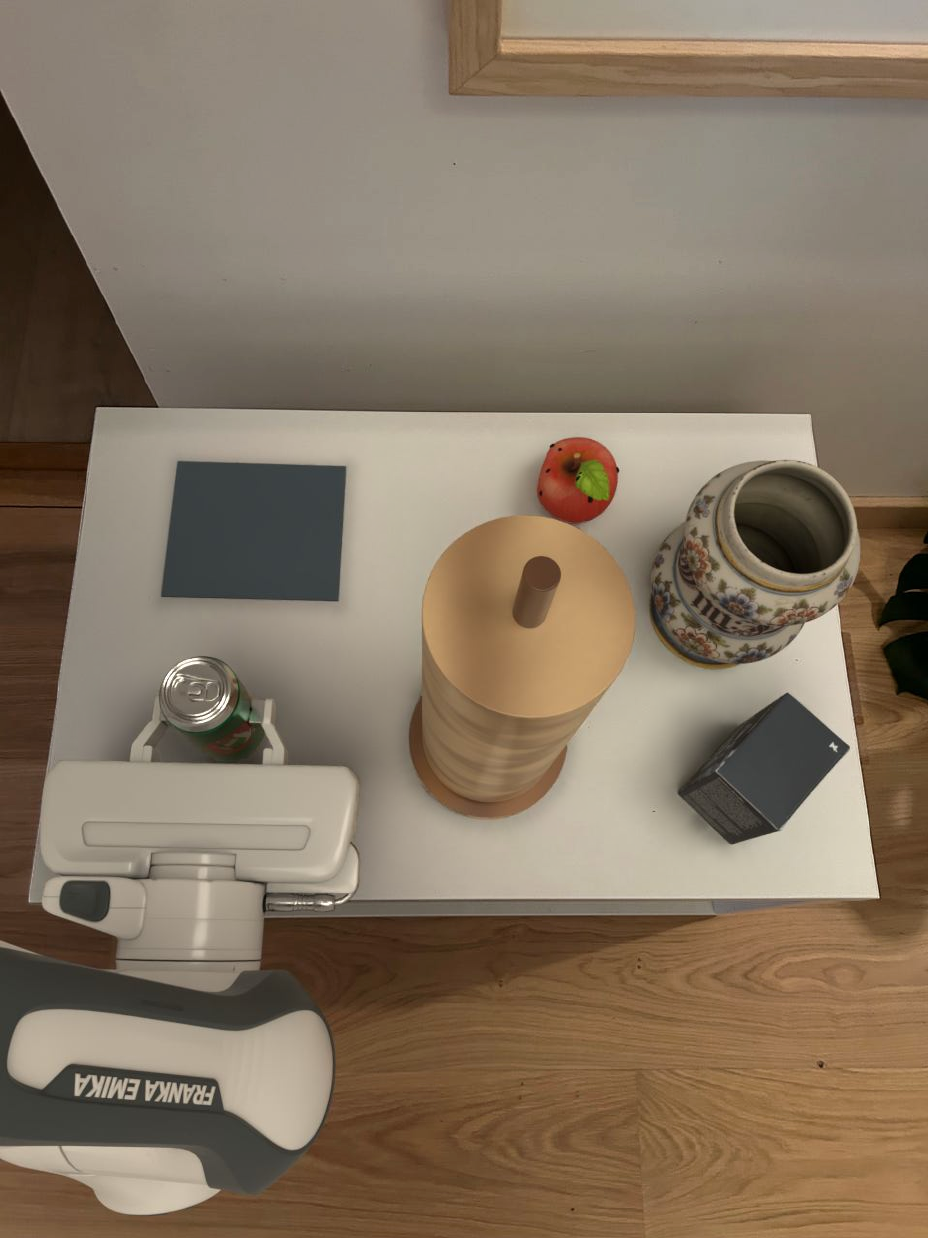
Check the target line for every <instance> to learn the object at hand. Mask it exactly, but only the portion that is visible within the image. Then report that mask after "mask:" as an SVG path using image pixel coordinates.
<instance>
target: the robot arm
mask: <svg viewBox="0 0 928 1238" xmlns="http://www.w3.org/2000/svg"><path fill="white" fill-rule="evenodd" d="M251 708H252V711H251V712H250V716H249V723H250V725H252V727H253V728H263V729H264V731H265V733H264V734H265V735H266V737H267V739H268V742H269V743H270V745H271V747H272V748H271V747H265V748H264V749H263V751H262V762H261V764H260V763H224V762H219V763H217V762H216V763H215V762H214V763H213V762H171V761H170V762H169V761H168V762H167V761H160V760H161V752H160V750H158V749H157V748H155V747H156V746H157V744H158V743H159V741H160V740H161V739H162V737H163V736H164V734H165V733H166V731H167V730H168V728H169V727H173V726H172V725H171V724H170V723H169V722H168V721H167V720H166V718H165V717H164V715H163V713H162V711H161V708H160V704H159V695H155V698H154V701H153V710H152V717H151V720H149V721H148V723H146V724H145V725H146V726H144V728H143V729H142V731H141V732H140V733H139V734H138V736H137V737H136V738H135V739H134V741H133V742H132V743H131V747H130V754H129V755H130V756H129V760H128V761H127V760H125V761H124V760H123V761H122V760H80V759H63V760H60V761H58V762H57V763H56V764H55V765H54V766H53V767H52V768H51V769H50V771H48V772H47V774H46V775H45V779H44V783H43V789H42V795H41V805H40V821H39V847H40V853H41V858H42V861H43V862H44V864H45V865H46V867H47V868H48V869H49V870H50V871H51V872H53V873H54V874H56V875H57V876H53V877H51V878H49V879H48V880H47V881H46V883H45V885H44V887H43V891H42V898H41V906H42V908H43V910H44V911H45V912H47V913H49V914H51V915H53V916H56V917H60V918H63V919H65V920H68V921H70V922H74V923H77V924H79V925H82V926H84V927H88V929H91V930H94V931H95V932H96V931H97V932H102V933H104V934H107V935H111V936H113V937H115V939H116V940H117V942H116V951H115V952H116V953H115V960H114V961H115V969H113V968H111V969H110V968H109V969H108V968H97V967H93V966H88V965H84V964H80V963H75V962H71V961H67V960H63V959H60V958H59V959H58V958H55V957H50V956H45V955H42V954H40V953H37V952H34V951H32V950H28V949H25V948H22V947H21V946H18V945H14V944H12V943H8V942H6V941H3V940H1V939H0V1161H1V1162H7V1163H10V1164H12V1165H15V1166H18V1167H21V1168H26V1169H31V1170H36V1171H39V1172H40V1171H41V1172H45V1173H51V1174H55V1175H59V1176H64V1177H66V1178H70V1179H73V1180H76V1181H78V1182H80V1183H82V1184H84V1185H85V1186H87V1187H89V1188H91V1189H92V1190H93V1193H94V1195H95V1196H96V1199H97V1200H98V1201H99V1202H100V1203H101V1204H102V1205H103V1206H104V1207H106V1208H107V1209H109V1210H111V1211H112V1212H114V1213H117V1214H120V1215H121V1214H122V1215H126V1216H134V1217H159V1216H165V1215H169V1214H172V1213H176V1212H180V1211H183V1210H189V1209H191V1208H192V1209H193V1208H194V1207H196V1206H198V1205H201V1204H203V1203H204V1202H206V1201H207V1200H209V1199H211V1198H212V1197H213V1196H215V1195H216V1194H218V1193H219V1192H221V1191H226V1192H230V1193H231V1192H232V1193H237V1194H244V1195H250V1196H257V1195H260V1194H261V1193H263V1192H264V1191H266V1189H268V1188H270V1186H272V1185H273V1184H274V1183H276V1182H278V1180H279V1179H280V1178H281V1177H283V1176H284V1175H285V1174H286V1173H288V1171H289V1170H290V1169H292V1167H294V1166H295V1165H296V1163H298V1161H299V1160H300V1159H301V1158H302V1157H303V1156H304V1155H305V1154H306V1152H307V1151H308V1150H309V1149H310V1148H311V1146H312V1145H313V1144H314V1143H315V1141H316V1140H317V1138H318V1137H319V1135H320V1133H321V1132H322V1130H323V1127H324V1125H325V1123H326V1121H327V1118H328V1114H329V1111H330V1108H331V1105H332V1100H333V1095H334V1090H335V1083H336V1069H337V1068H336V1065H337V1064H336V1062H337V1061H336V1048H335V1042H334V1036H333V1033H332V1030H331V1027H330V1024H329V1022H328V1020H327V1018H326V1016H325V1015H324V1013H323V1011H322V1010H321V1008H320V1006H319V1004H318V1003H317V1002H316V1000H315V999H314V998H313V996H312V994H311V993H309V991H308V990H307V989H306V988H305V987H304V986H303V984H302V983H301V982H300V981H299V980H298V979H297V978H296V977H295V975H293V974H292V973H291V972H290V971H289V970H287V969H282V968H281V969H261V965H262V953H263V941H264V928H265V927H264V926H265V915H266V914H265V913H266V912H275V913H276V912H281V913H282V912H284V913H285V912H298V911H299V912H300V911H313V912H315V913H329V912H334V911H335V909H336V907H338V906H341V905H344V904H346V903H348V902H350V900H351V899H352V898H353V897H354V896H355V895H356V893H357V892H358V889H359V886H360V883H361V882H360V881H361V880H360V879H361V861H362V860H361V854H360V852H359V849H358V848H357V846H356V844H354V842H353V840H354V836H355V831H356V826H357V819H358V812H359V803H360V795H361V785H360V780H359V778H358V777H357V776H356V774H355V773H354V772H353V771H352V770H351V769H350V768H349V767H348V766H344V765H309V764H306V765H305V764H304V765H303V764H289V751H288V750H287V747H286V745H285V744H284V742H283V739H282V738H281V735H280V734H279V732H278V730H277V728H276V727H275V724H276V713H277V705H276V701H275V699H274V698H267V697H266V698H252V699H251ZM58 875H59V876H58ZM336 895H344V896H342V897H339V898H336Z"/></svg>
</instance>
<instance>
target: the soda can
mask: <svg viewBox="0 0 928 1238" xmlns="http://www.w3.org/2000/svg"><path fill="white" fill-rule="evenodd" d="M158 696H159V704H160V708H161V711H162V713H163V715H164V717H165V718H166V720H167V721H168V722H169V723H170V724H171V725H172V726H171V727H173V728H174V729H175V730H177V731H178V732H179V733H180V734H181V735H183V736H184V737H185V739H187V740H188V741H190V743H192V744H193V745H194V746H195V747H196V748H198V749H199V750H200V751H201V752H202V753H203V754H204V755H205V756H207V757H208V758H209V759H211V760H214V761H216V762H219V763H223V764H233V763H238V762H240V761H243V760H246V759H247V758H248V757H250V756H251V755H252V754H254V753H255V752H256V751H257V750H258V748H259V747H260V746H261V744H262V742H263V739H264V736H265V734H266V733H265V731H264V729H263V728H253V727H252V725H250V723H249V716H250V712H251V711H252V708H251V699H253V698H252V697H253V696H251V694H250V692H249V691H248V690H247V689H246V687H245V686H244V684H243V683H242V681H241V680H240V679H239V677H238V675H237V674H236V673H235V672H234V670H233V668H231V666H229V665H228V664H227V663H226V662H224V661H222V660H221V659H219V658H216V657H213V656H209V655H208V656H207V655H197V656H192V657H189V658H186V659H183V660H181V661H179V662H177V663H176V664H174V665H173V666H172V667H171V668H170V669H169V670H168V672H167V673H166V675H165V676H164V678H163V680H162V682H161V685H160V687H159V692H158Z"/></svg>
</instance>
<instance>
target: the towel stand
mask: <svg viewBox="0 0 928 1238" xmlns="http://www.w3.org/2000/svg"><path fill="white" fill-rule="evenodd" d="M426 581H427V582H426V584H425V588H424V591H423V595H422V602H421V603H422V605H421V695H420V696H419V697H420V698H419V699H418V701H417V703H416V704H415V707H414V710H413V713H412V715H411V718H410V722H409V723H410V724H409V731H408V746H409V747H408V749H409V754H410V755H409V756H410V759H411V763H412V766H413V769H414V771H415V773H416V776H417V777H418V779H419V781H420V783H421V784H422V787H424V789H425V790H426V791H427V792H428V794H429V795H430V796H431V797H433V799H435V800H436V801H437V802H438V803H440V804H441V805H442V806H443V807H445V808H446V809H448V810H451V811H452V812H454V813H456V814H459V815H462V816H463V817H467V818H471V819H478V820H499V819H504V818H509V817H511V816H515V815H518V814H520V813H522V812H524V811H526V810H529V808H531V807H533V806H534V805H536V804H537V803H538V802H539V801H540V800H541V799H542V798H544V797H545V796H546V795H547V793H548V792H549V791H550V790H551V789H552V787H553V785H555V783H556V781H557V780H558V778H559V776H560V774H561V772H562V770H563V767H564V765H565V761H566V755H567V752H568V751H567V750H568V744H569V742H570V741H571V740H572V738H573V737H574V736H575V734H576V733H577V732H578V730H579V729H580V727H581V726H582V725H583V724H584V722H585V721H586V719H587V718H588V717H589V715H590V714H591V713H592V711H593V710H594V709H595V707H596V706H597V705H598V704H599V702H600V701H601V699H602V698H603V697H604V695H605V694H606V692H607V691H608V690H609V689H610V687H611V686H612V684H613V683H614V682H615V680H617V677H619V675H620V673H621V672H622V670H623V669H624V668H625V665H626V662H627V661H628V659H629V657H630V654H631V650H632V648H633V645H634V641H635V633H636V621H637V620H636V616H637V615H636V608H635V601H634V596H633V593H632V589H631V587H630V584H629V582H628V579H627V576H626V575H625V574H624V572H623V570H622V568H621V566H620V565H619V564H618V562H617V561H616V559H615V558H614V556H613V555H612V554H611V553H610V552H609V551H608V550H607V548H605V547H604V546H603V545H602V544H601V543H600V542H599V541H598V540H596V539H595V538H594V537H592V536H591V534H590V535H589V534H588V533H587V532H585V531H583V530H582V529H580V528H578V527H576V526H574V525H571V523H568V522H565V521H562V520H560V519H557V518H551V517H546V516H541V515H529V514H524V515H523V514H522V515H521V514H520V515H511V516H504V517H499V518H495V519H491V520H489V521H486V522H484V523H481V524H479V525H477V526H475V527H473V528H471V529H469V530H468V531H466V532H464V533H463V534H462V535H460V536H458V538H457V539H455V540H454V541H453V542H452V543H451V544H450V545H449V546H448V547H447V548H446V549H445V550H444V551H443V553H442V554H441V555H440V557H439V558H438V559H437V560H436V561H435V564H434V566H433V567H432V570H431V571H430V574H429V576H428V579H427V580H426Z"/></svg>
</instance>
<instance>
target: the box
mask: <svg viewBox="0 0 928 1238" xmlns="http://www.w3.org/2000/svg"><path fill="white" fill-rule="evenodd" d="M850 750H851V746H850V745H849V744H848V743H846V742H845V741H844V740H843V739H842V738H841V737H839V735H837V734H836V733H835V731H833V730H832V729H830V727H828V726H827V725H826V724H825V722H823V721H821V720H820V718H818V717H817V716H816V715H815V714H814V713H813V712H812V711H810V710H809V709H808V708H807V707H806V706H805V705H804V704H802V702H800V701H799V700H798V699H797V698H796V697H794V696H793V695H792V694H791V693H790V692H785V693H784V694H783V695H780V696H779V697H778V698H777V699H775V700H773V701H772V702H771V703H769V704H767V706H765V707H764V708H762V709H760V710H759V711H758V712H756V713H754V715H752V716H750V717H749V718H748V719H747V720H744V721H743V722H742V723H740V724H739V726H737V728H736V729H735V730H734V731H733V732H732V734H731V735H729V736H728V737H727V739H726V740H725V741H724V742H723V743H722V744H721V745H720V746H719V748H718V749H716V751H714V753H713V754H712V755H711V756H710V757H709V758H708V759H707V760H706V762H705V763H703V764H702V766H701V767H700V768H699V769H698V770H697V772H696V773H695V774H694V775H693V776H691V777H690V778H689V780H688V781H687V782H686V783H685V784H684V785H683V786H682V787H681V788H680V789H679V790H678V792H677V794H678V796H679V797H680V798H681V799H683V800H684V801H685V802H686V803H687V804H688V806H689V807H691V808H692V809H693V810H694V811H695V812H696V813H697V814H698V815H699V816H700V817H701V818H702V819H703V820H704V821H705V822H706V823H707V824H708V825H709V826H711V827H712V829H713V830H714V831H715V832H716V833H717V834H719V835H720V836H721V837H722V838H723V840H725V841H726V843H728V844H729V845H732V846H733V845H735V844H739V843H742V842H746V841H749V840H752V839H756V838H760V837H764V836H767V835H771V834H773V833H777V832H781V831H783V828H785V826H786V825H787V824H788V822H789V821H790V820H791V818H792V817H793V815H794V814H795V813H796V812H797V811H798V810H799V808H800V807H801V806H802V805H803V804H804V803H805V801H807V799H808V798H809V797H810V795H811V794H812V793H813V792H814V791H815V789H817V787H818V786H819V785H821V783H822V781H824V779H825V778H826V777H827V776H828V774H830V773H831V771H833V769H834V768H835V767H836V766H837V765H838V764H839V762H840V761H841V760H842V759H843V758H844V757H845V756H846V755H847V754H848V753H849V752H850Z"/></svg>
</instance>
